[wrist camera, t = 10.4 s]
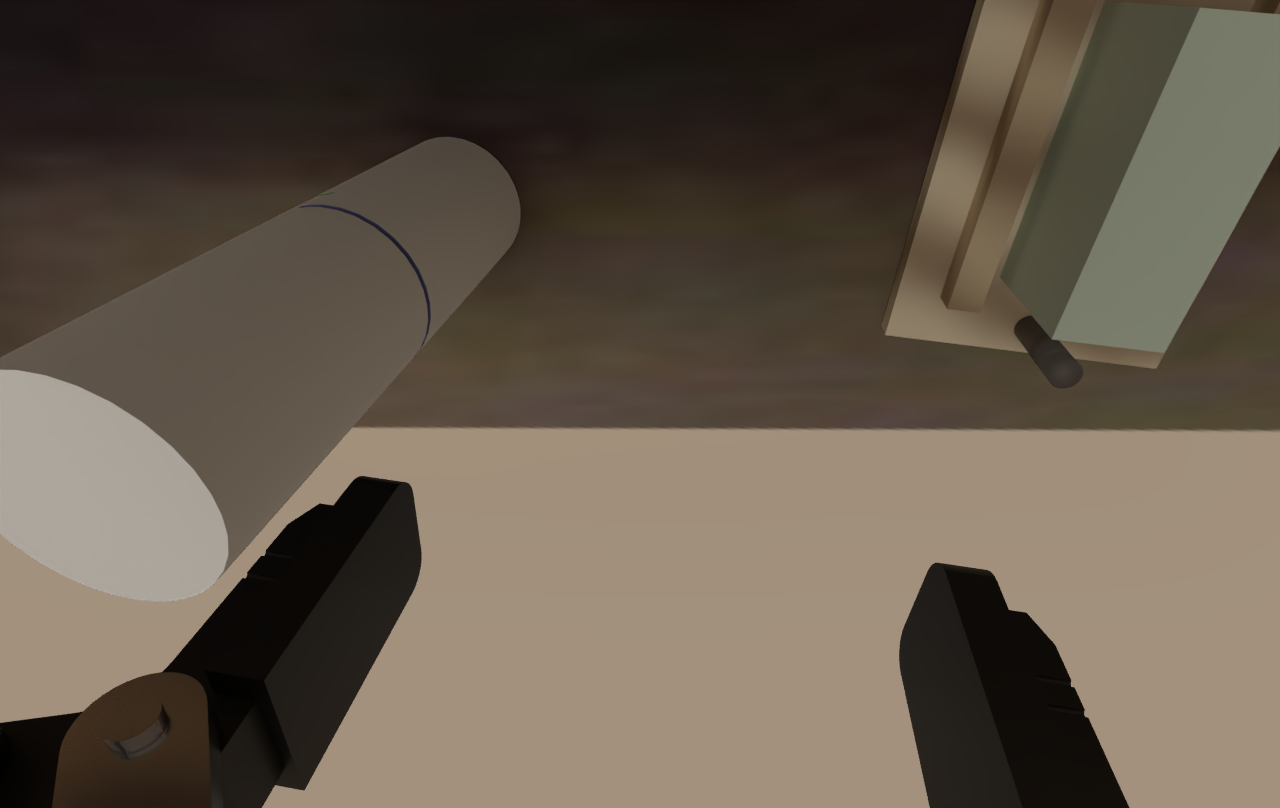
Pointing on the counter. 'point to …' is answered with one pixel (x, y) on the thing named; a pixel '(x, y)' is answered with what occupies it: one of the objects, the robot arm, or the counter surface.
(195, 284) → the cylindrical container
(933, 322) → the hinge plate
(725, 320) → the counter surface
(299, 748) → the robot arm
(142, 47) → the counter surface
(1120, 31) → the rectangular block
